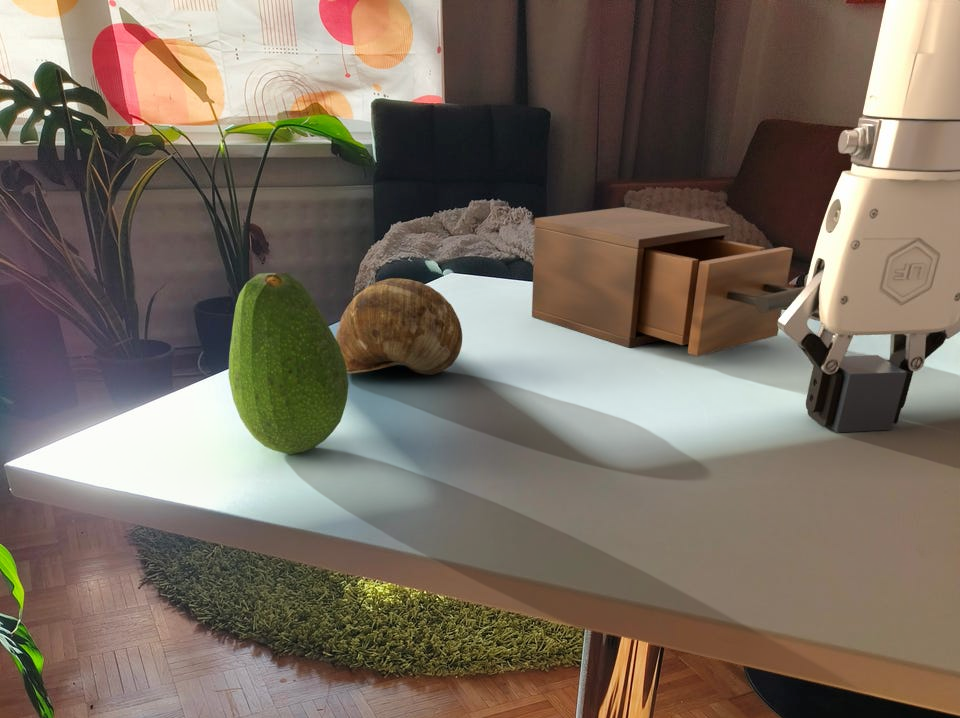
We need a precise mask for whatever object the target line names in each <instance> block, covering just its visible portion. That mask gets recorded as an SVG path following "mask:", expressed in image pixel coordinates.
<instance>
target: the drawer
mask: <svg viewBox="0 0 960 718" xmlns="http://www.w3.org/2000/svg"><path fill="white" fill-rule="evenodd" d="M793 250H794V248H791V247H786V246H781V247H780V246H779V247H775V248H769V249H768V248H767V249H766V247H764V246H757V245H753V244H749V243H748V244H747V243H743V242H738V241H733V240H732V241H731V240H729V241H727V240H721V239H716V238H711V237H709V238H703V239H697V240H691V241H684V242H678V243H672V244H665V245H659V246H653V247H647V248H644V253H643V264H642V274H641V284H640V295H639V305H638V315H637V326H636V332H640V333H643V334H646V335H650V336H653V337H656V338H660V339H663V340H662V341H666V342H669V343H673V344H677V345H680V346H684V345H688V347H687V354H689V355H693V356H695V357H699V356H703V355H708V354H712V353H714V352H718V351H722V350H726V349H731V348H734V347H738V346H742V345H745V344H749V343H754V342H757V341H758V342H759V341H761V340H766V339H768V338H769V339H770V338H774V337H778V333H779V327H778V325H777V323H778V320H779V318H780V317H781V316H782V311H783V309H788V307H789V306H790V305H791V304H792V303H793V301H794V300H795V299H796V298H797V297H798V295H799V294H800V293H801V292H802V291H803V290H804V288H805V287H806V285H805V286H801V287H795V288H790V287H787V284H788V280H789V279H788V278H789V274H790V267H791V262H792V257H793V252H794V251H793Z"/></svg>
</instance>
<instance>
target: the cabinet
mask: <svg viewBox="0 0 960 718" xmlns="http://www.w3.org/2000/svg"><path fill="white" fill-rule="evenodd" d="M731 229H732V225H730V224H725V223H720V222H719V223H718V222H713V221H707V220H701V219H696V218H690V217H684V216H679V215H678V216H677V215H672V214H666V213H660V212H654V211H649V210H643V209H637V208H633V207H632V208H631V207H627V206H623V207H613V208H607V209H597V210H591V211H589V210H588V211H581V212H575V213H573V212H572V213H565V214H559V215H557V214H556V215H550V216H549V215H548V216H541V217H534V234H533V235H534V236H533V263H532V264H533V265H532V266H533V267H532V269H533V271H532V298H531V306H532V307H531V317H532V318H535V319H537V320H541V321H545V322H548V323H551V324H553V325H557V326H560V327H563V328H566V329H569V330H573V331H575V332H578V333H581V334H585V335H588V336H591V337H594V338H597V339H601V340H604V341H607V342H610V343H613V344H617V345H620V346H623V347H625V348H633V347H637V346H641V345H646V344H650V343H653V342H658V341H659V342H660V341H664V340H663V339H660V338H656V337H653V336H650V335H646V334H643V333H640V332H636V326H637V315H638V305H639V295H640V284H641V274H642V264H643V253H644V248H647V247H653V246H659V245H665V244H672V243H678V242H684V241H691V240H697V239H703V238H709V237H711V238H716V239H721V240H727V241H730V235H731Z"/></svg>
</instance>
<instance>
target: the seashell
mask: <svg viewBox="0 0 960 718" xmlns="http://www.w3.org/2000/svg"><path fill="white" fill-rule="evenodd" d="M335 339H336V340H337V342H338V344H339V346H340V349H341V352H342V355H343V357H344V360H345V363H346V368H347V374H359V373H366V372H371V371H377V370H380V369H385V368H389V367H393V366H394V367H395V366H397V365H402V366H406V367H407V368H408V369H410V370H411V371H413V372H415V373H417V374H420V375H425V376H432V375H436V374H439V373H441V372H443V371H446V370H447V369H449V368H450V367H451V366H452V365H453V364H454V363H455V362H456V360H457V359H458V357H459V355H460V353H461V349H462V345H463V329H462V325H461V322H460V319H459V316H458V314H457V312H456V311H455V309H454V307H453V305H452V304H451V302H449V301H448V300H447V298H446V297H445V296H443V294H441V293H440V292H438V291H437V290H435V289H434V288H433V287H431V286H430V285H427V284H425V283H423V282H420V281H416V280H412V279H407V278H392V277H391V278H386V279H383V280H379V281H376V282H374V283H372V284H370V285H368V286H366V287H365V288H364V289H363V290H361V291H360V292H359V293H358V294H357V295H355V297H354V298H353V299H352V300H351V302H350V303H348V305H347V307H346V308H345V310H344V312H343V313H342V316H341V318H340V320H339V323H338V325H337V329H336V336H335Z"/></svg>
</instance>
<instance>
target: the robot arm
mask: <svg viewBox="0 0 960 718" xmlns="http://www.w3.org/2000/svg"><path fill="white" fill-rule="evenodd" d="M837 150H838V152H839V153H840V154H848V155H849V156H850V163H851V168H850V170H843V171H842V172H841V174H840V177H839V179H838V181H837V183H836V186H835V188H834V191H833V193H832V196H831V199H830V201H829V204H828V206H827V209H826V212H825V214H824V218H823V220H822V223H821V226H820V231H819V234H818V237H817V240H816V243H815V248H814V251H813V255H812V259H811V262H810V267H809V271H808V274H807V279H806V284H805V286H806V287H805V288H804V290H803V291H802V292H801V293H800V294H799V295H798V297H797V298H796V299H795V300H794V301H793V303H792V304H791V305H790V306H789V307H787V308H786V310H784V312H783V313H782V314H781V317H780V318H779V320H778V323H777V325H778V327H779V328H778V330H780V331H781V332H783V333H784V334H785V335H786V336H787V337H788V338H790V340H792V341H793V342H794V343H796V344H797V346H798V347H799V348H800V350H801V351H802V353H803V354H804V355H805V356H806V358H807V360H808V362H809V363H810V364H812V365H813V366H812V370H811V376H810V380H809V385H808V390H807V393H806V399H805V408H806V410H807V415H808V416H809V417H810V418H811V420H814V421H815V422H816V423H817V424H818V425H820V426H821V427H822V428H830V426H831V425H832V424H833V423H834V418H835V414H836V410H837V405H838V401H839V397H840V392H841V388H842V384H843V375H842V374H841V373H839V372H838V371H839V367H840V365H841V362H842V360H843V358H844V356H846V353H847V351H848V349H849V347H850V344H851V342H852V340H853V338H854V336H882V335H884V336H885V335H887V336H888V335H890V344H889V345H890V347H889V348H890V349H889V359H886V360H887V361H889V362H890V363H892V364H894V365H895V366H897V367H899V368H900V369H902V370H904V371H906V372H907V374H906V378H905V382H904V385H903V389H902V393H901V397H900V400H899V404H898V408H897V411H896V415H895V419H894V423H893V425H895V424H898V421H899V418H900V415H901V411H902V409H903V408H904V407H905V404H906V401H907V398H908V393H909V390H910V387H911V383H912V378H913V375H914V372H917V371H920V370H921V369H922V368H923V367H924V365H925V360H926V359H927V358H928V357H930V356H931V355H932V354H933V353H935V351H937V350H938V349H939V348H940V347H941V346H942V345H943V344H944V343H945V342H946V340H949V339H951V338H952V337H954V336H955V335H957V334H958V333H960V0H886V1H885V5H884V9H883V14H882V19H881V24H880V29H879V32H878V38H877V43H876V48H875V52H874V58H873V63H872V67H871V73H870V77H869V81H868V87H867V91H866V96H865V101H864V106H863V111H862V116H861V117H859V119H858V122H857V127H855V128H853V129H844V130H843V131H841V133H840V134H839V138H838V141H837ZM809 319H810V320H813V321H817V322H820V323H821V324H820V326H819V328H818V331H817V333H815V332H814V331H812V329H811V328H810V327H809V326H808V321H809Z"/></svg>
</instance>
